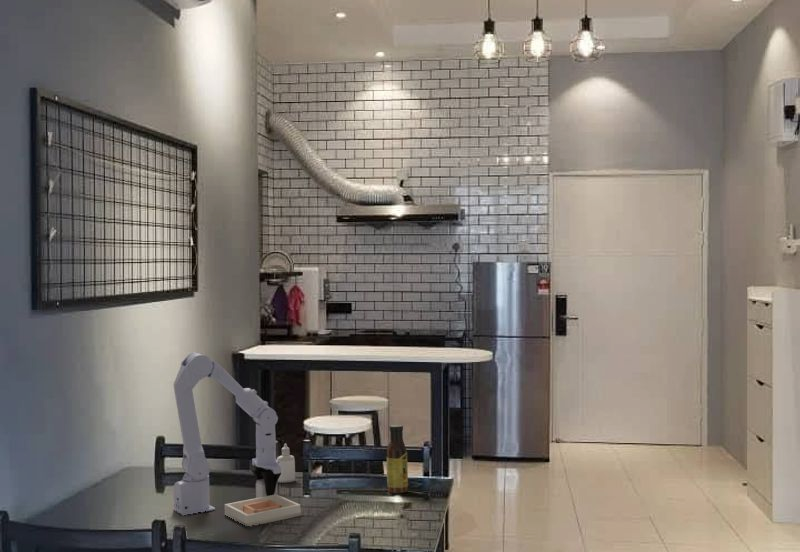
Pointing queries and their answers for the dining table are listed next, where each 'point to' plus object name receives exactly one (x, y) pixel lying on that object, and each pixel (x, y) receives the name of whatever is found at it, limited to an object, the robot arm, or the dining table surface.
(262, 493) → the grey plug
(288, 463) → the eye dropper bottle
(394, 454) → the sauce bottle
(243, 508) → the walled box
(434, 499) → the dining table surface
